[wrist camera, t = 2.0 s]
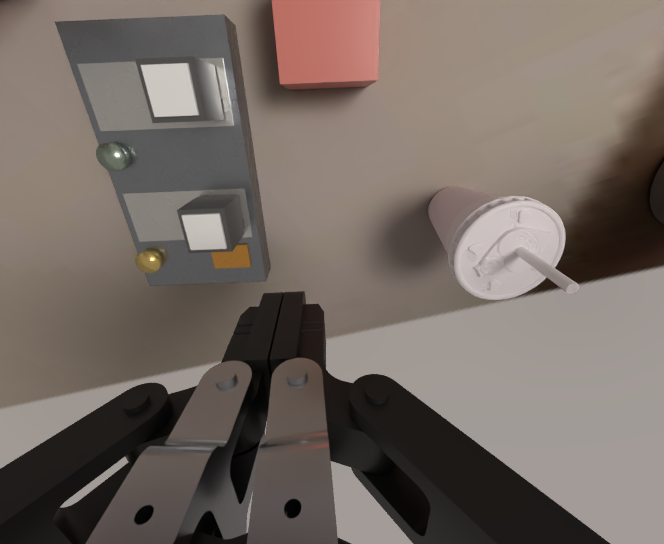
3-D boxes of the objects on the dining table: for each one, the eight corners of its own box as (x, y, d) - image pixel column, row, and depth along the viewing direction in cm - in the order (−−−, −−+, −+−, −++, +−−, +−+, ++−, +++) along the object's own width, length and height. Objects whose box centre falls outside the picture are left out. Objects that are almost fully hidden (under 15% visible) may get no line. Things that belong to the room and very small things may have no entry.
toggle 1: (214, 65, 19) (191, 55, 16) (224, 119, 20) (204, 121, 17) (166, 67, 19) (132, 58, 16) (179, 121, 20) (150, 123, 17)
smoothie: (498, 217, 27) (648, 309, 14) (431, 255, 28) (514, 368, 16) (470, 152, 24) (621, 195, 12) (398, 198, 26) (465, 278, 13)
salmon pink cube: (368, -17, 19) (381, -56, 15) (367, 86, 22) (378, 80, 18) (280, -13, 19) (266, -51, 15) (289, 89, 22) (279, 84, 18)
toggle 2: (237, 195, 23) (222, 209, 19) (244, 233, 24) (231, 252, 21) (197, 196, 23) (175, 211, 19) (206, 235, 24) (187, 254, 21)
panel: (235, 25, 20) (219, 10, 17) (270, 268, 29) (264, 285, 26) (84, 31, 20) (43, 18, 17) (163, 272, 29) (144, 290, 26)
